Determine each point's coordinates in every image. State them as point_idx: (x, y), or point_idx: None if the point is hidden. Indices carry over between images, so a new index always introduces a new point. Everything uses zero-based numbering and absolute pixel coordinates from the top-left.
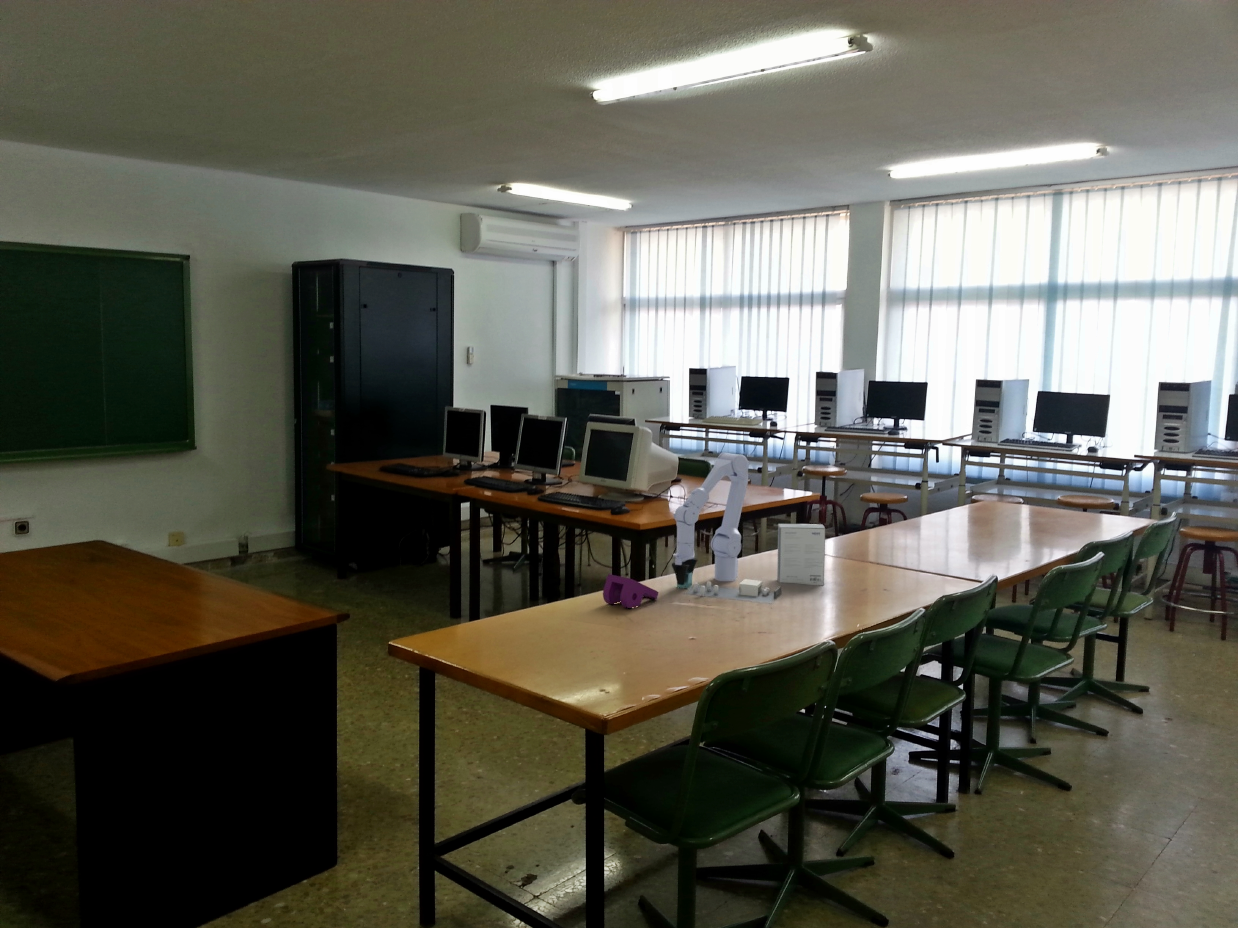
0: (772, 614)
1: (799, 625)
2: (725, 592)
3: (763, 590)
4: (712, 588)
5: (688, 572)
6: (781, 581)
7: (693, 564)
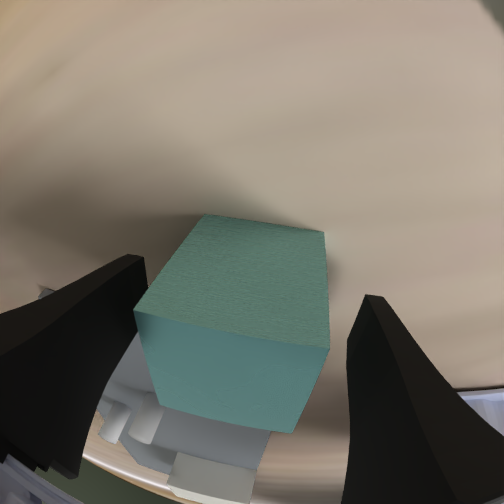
0: (89, 440)
1: None
2: (176, 434)
3: None
4: None
5: (241, 412)
6: None
7: (347, 499)
